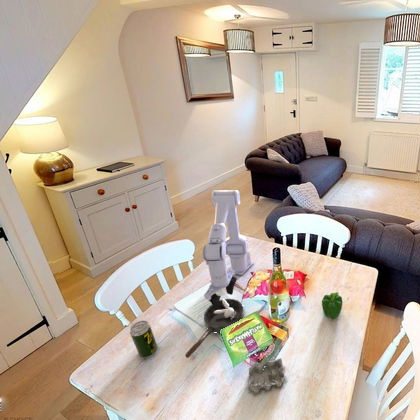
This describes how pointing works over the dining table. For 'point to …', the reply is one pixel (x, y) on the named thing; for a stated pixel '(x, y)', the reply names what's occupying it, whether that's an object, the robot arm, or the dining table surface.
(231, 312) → the rabbit figurine
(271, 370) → the egg carton
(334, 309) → the bell pepper
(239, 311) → the pan
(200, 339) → the pan handle
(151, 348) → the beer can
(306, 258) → the dining table surface
